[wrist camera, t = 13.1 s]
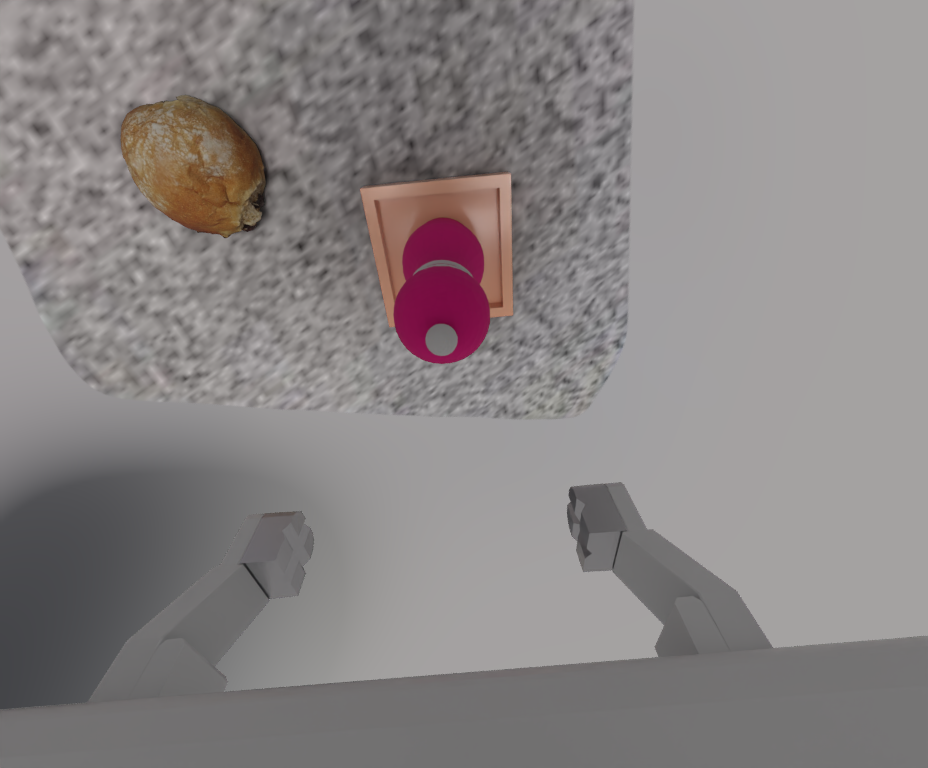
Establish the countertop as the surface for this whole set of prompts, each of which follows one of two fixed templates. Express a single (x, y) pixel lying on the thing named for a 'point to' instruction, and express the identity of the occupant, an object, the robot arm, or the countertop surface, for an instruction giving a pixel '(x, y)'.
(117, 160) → the countertop surface
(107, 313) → the countertop surface
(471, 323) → the pepper mill
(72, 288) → the countertop surface
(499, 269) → the terracotta tray
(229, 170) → the bread roll
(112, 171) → the countertop surface
